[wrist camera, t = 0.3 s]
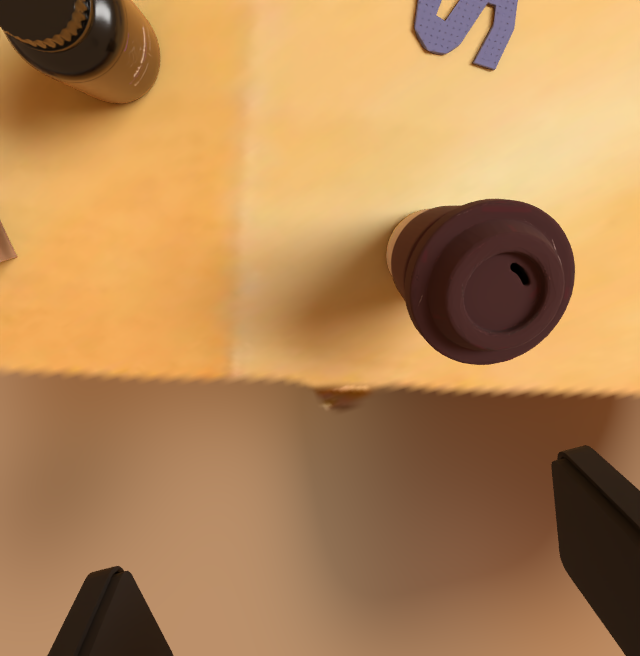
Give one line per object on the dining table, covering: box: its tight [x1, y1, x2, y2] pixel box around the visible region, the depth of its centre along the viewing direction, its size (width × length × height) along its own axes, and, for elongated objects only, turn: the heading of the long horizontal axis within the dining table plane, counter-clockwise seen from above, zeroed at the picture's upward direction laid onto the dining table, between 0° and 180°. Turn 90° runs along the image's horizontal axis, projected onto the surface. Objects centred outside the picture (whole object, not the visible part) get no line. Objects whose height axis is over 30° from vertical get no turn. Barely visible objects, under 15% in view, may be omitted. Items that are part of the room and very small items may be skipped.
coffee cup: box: [386, 199, 575, 365], centre depth 32 cm, size 10×10×15 cm
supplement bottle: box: [0, 0, 160, 104], centre depth 27 cm, size 7×7×12 cm
